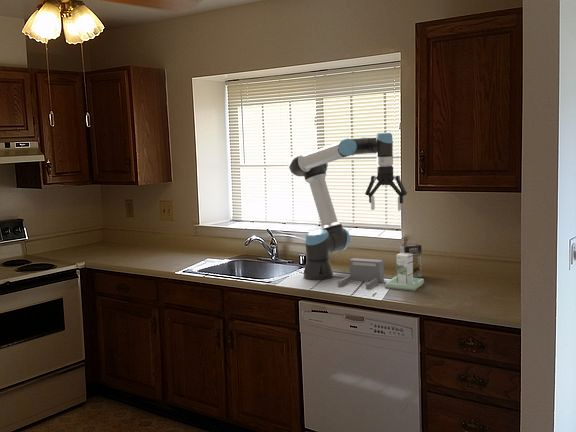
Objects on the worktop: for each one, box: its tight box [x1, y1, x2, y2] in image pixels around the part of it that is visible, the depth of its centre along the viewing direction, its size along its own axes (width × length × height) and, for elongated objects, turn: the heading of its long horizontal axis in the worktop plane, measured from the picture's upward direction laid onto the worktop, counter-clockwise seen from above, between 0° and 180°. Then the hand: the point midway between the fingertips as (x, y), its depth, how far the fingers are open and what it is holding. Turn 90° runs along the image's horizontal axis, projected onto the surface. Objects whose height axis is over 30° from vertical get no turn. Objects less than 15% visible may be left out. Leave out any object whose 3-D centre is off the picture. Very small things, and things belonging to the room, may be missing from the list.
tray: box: [384, 276, 425, 292], centre depth 285 cm, size 14×14×2 cm
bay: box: [337, 257, 385, 290], centre depth 293 cm, size 16×19×10 cm
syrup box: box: [395, 252, 413, 285], centre depth 284 cm, size 6×6×14 cm
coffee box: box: [399, 243, 423, 278], centre depth 301 cm, size 9×6×16 cm
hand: (386, 210), depth 292 cm, fingers open, 13 cm apart
